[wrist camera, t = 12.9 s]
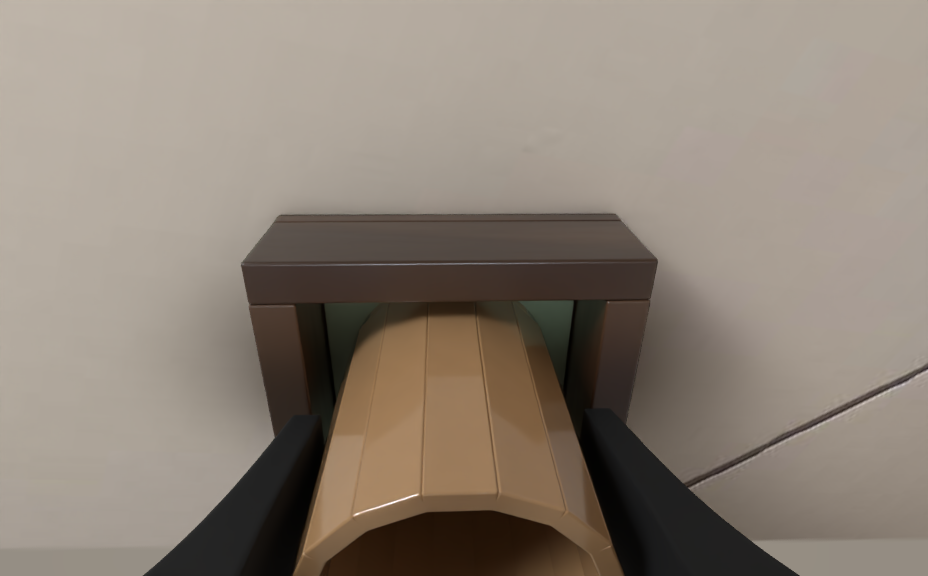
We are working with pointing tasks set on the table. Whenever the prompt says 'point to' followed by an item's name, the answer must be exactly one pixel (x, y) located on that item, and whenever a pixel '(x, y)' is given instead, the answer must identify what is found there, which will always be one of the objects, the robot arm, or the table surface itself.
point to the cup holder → (447, 295)
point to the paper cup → (453, 454)
